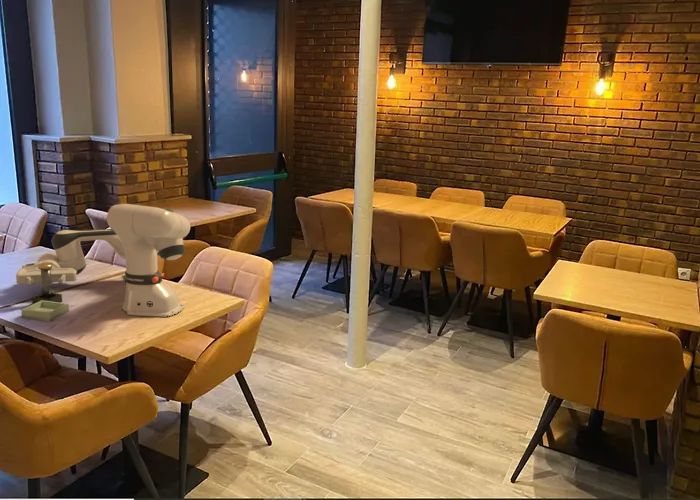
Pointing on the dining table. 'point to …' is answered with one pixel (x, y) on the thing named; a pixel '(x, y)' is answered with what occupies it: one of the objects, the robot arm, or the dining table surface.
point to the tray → (45, 310)
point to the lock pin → (46, 279)
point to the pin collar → (53, 299)
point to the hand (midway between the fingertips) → (46, 282)
